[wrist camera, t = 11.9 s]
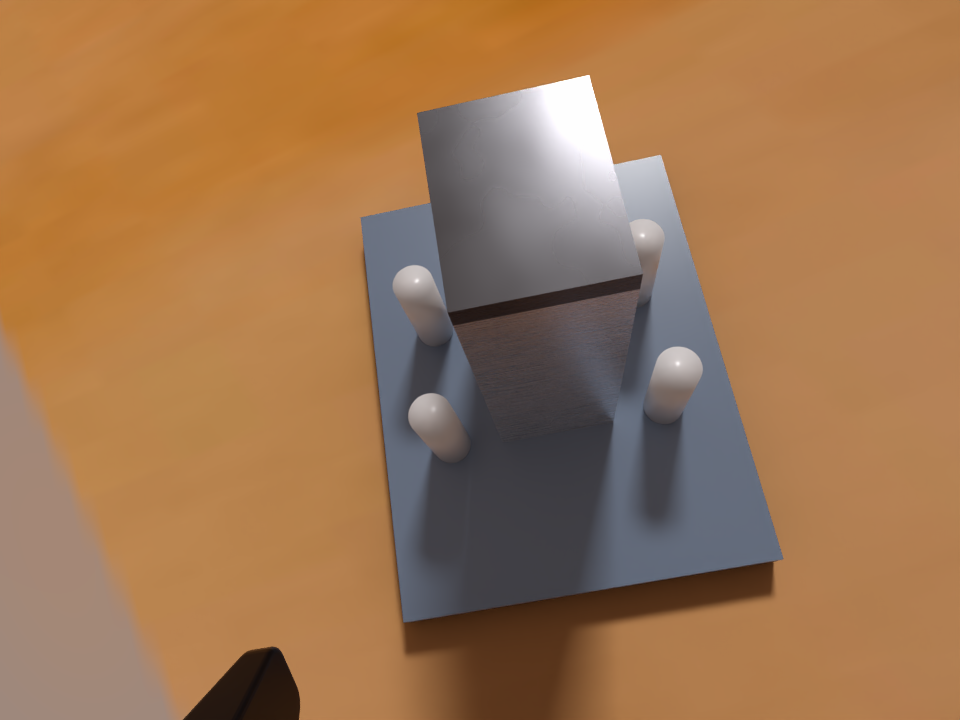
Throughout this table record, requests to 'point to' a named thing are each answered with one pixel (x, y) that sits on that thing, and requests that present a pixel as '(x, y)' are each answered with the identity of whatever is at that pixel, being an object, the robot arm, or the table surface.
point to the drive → (534, 253)
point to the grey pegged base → (559, 439)
